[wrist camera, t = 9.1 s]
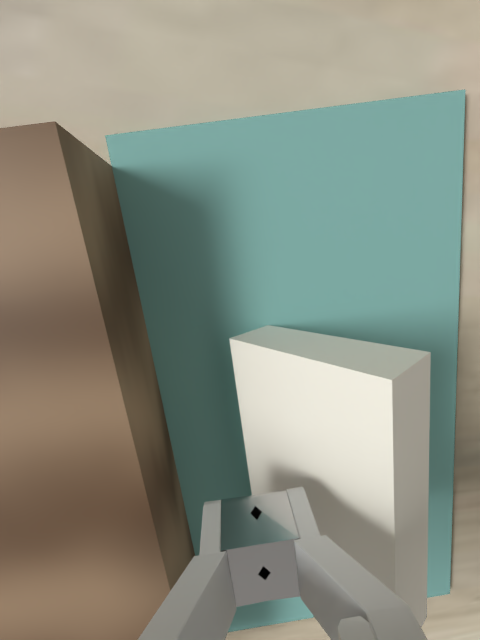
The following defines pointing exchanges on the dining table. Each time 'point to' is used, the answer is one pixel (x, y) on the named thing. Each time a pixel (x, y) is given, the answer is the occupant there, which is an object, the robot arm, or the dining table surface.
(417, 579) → the white rectangular eraser
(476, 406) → the dining table surface
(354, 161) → the mat
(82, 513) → the board
